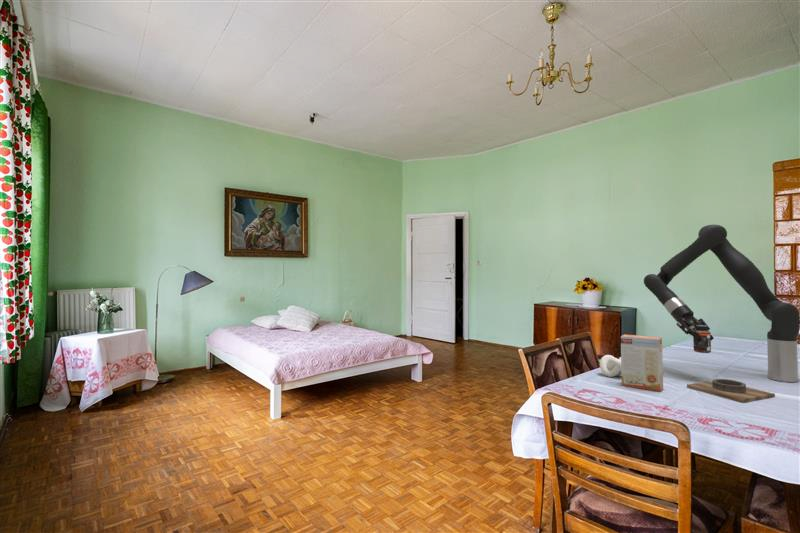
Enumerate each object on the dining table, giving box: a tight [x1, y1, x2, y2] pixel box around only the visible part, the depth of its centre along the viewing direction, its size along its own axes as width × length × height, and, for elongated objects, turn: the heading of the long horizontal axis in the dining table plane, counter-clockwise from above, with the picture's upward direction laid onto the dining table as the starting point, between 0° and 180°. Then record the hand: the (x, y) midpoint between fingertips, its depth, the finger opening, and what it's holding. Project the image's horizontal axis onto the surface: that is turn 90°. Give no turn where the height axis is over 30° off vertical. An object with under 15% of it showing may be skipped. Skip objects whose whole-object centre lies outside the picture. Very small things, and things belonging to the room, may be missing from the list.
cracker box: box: [620, 333, 664, 392], centre depth 164 cm, size 14×6×21 cm, turn 47°
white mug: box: [599, 354, 622, 378], centre depth 180 cm, size 11×12×9 cm
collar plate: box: [686, 378, 776, 404], centre depth 156 cm, size 18×20×4 cm
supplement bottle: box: [692, 325, 712, 354], centre depth 170 cm, size 6×6×11 cm
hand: (706, 340), depth 169 cm, fingers closed on supplement bottle, 6 cm apart
